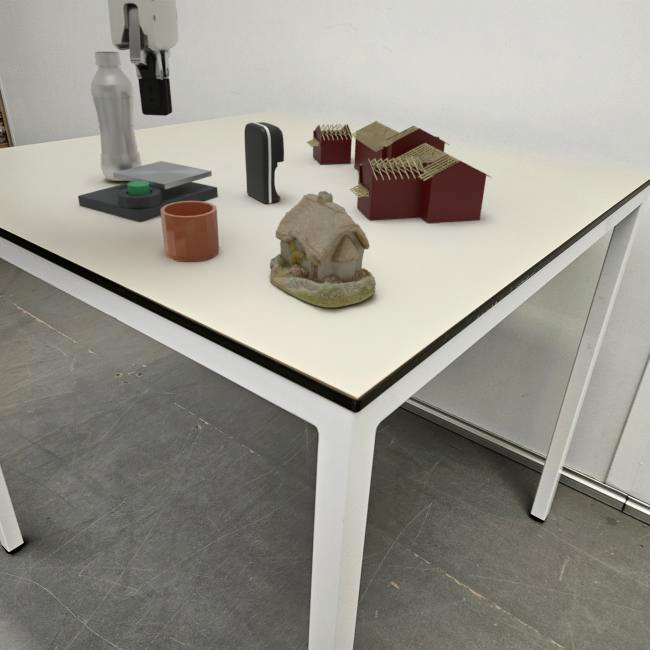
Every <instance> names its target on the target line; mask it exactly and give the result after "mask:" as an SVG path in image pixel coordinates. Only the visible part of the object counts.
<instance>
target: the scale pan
mask: <svg viewBox="0 0 650 650" xmlns="http://www.w3.org/2000/svg"><path fill="white" fill-rule="evenodd" d="M212 176H213V172H212V170H209V169H203V168H199V167H198V168H197V167H193V166H189V165H183V164H178V163H173V162H168V161H162V160H159V161H155V162H151V163H147V164H142V166H139V167H134V168H130V169H126V170H122V171H118V172H114V173H113V177H114V178H117V179H121V180H126V181H125V182H134V181H145V182H149V185H150V186H152V187H156V188H161V189H168V188H172V187H175V186H179V185H182V184H186V183H189V182H196V181H199V180H203V179H206V178H210V177H212Z"/></svg>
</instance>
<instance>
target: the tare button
mask: <svg viewBox="0 0 650 650" xmlns="http://www.w3.org/2000/svg"><path fill="white" fill-rule="evenodd" d="M129 182H130V181H129ZM129 182H127V183H128V184H127V186H128V193H129V195H137V196H139V195H147V194H150V185H149V182H145V181H134V182H130V183H129Z"/></svg>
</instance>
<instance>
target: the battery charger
mask: <svg viewBox="0 0 650 650" xmlns="http://www.w3.org/2000/svg"><path fill="white" fill-rule="evenodd" d="M244 160H245V175H246V176H245V177H246V193H247V195H249V196H250V197H252V198H254V199H255V200H257V201H259V202H261V203H263V204H272V203H276V202H279V201H280V200H281V196H280V195H279V194H278V192H277V189H276V183H275V181H276V180H275V179H276V170H277V168H278V165H279V163H282V162H283V163H284V161H285V143H284V134H283V131H282V130H281V128H280V127H278V126H277V125H274V124H272V123H269V122H265V121H259V122H255V121H253V122H252V121H251V122H248V123H246V125H245V127H244Z"/></svg>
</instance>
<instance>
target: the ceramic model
mask: <svg viewBox="0 0 650 650" xmlns="http://www.w3.org/2000/svg"><path fill="white" fill-rule="evenodd" d="M333 197H334V196H333V194H332V192H327V190H322V191H321V190H320V191H319V192H318V193H317V194H314V193H307V194H303V196H302V198H301V199H300V200H299V202H298V203H296V204H295V205H294V206H293V207H292V208H291V209H289V211H286V212H285V214H284V216H283V217H282V218H281V220H280V221H279V224H278V226H277V228H276V231H275V238H276V239H277V240H279V241H280V242H279V244H280V245H279V246H280V253H278V254H277V255H275V256H274V257H272V258H271V259H270V264H269V269H270V275H269V279H270V282H271V284H272V285H273V286H275V287H277V288H278V289H280V290H282V291H284V292H285V293H287V294H289V295H291V296H293V297H295V298H297V299H299V300H301V301H304V302H306V303H308V304H310V305H313V306H317V307H322V308H332V309H333V308H338V307H339V308H340V307H346V306H349V305H355V304H359V303H361V302H363V301H365V300H367V299H369V298H370V297H372V296H373V295H374V294H375V292H376V291H375V289H376V285H377V282H376V278H375V276H373V274H372V273H371V271H369V270H368V269H366V268H365V267H363V259H364V253H365V250H369V248H370V242H369V240H368V237H367V235H366V232H365V231H364V230H363V229H362V228H361V226H360V224H359V223H356V221H355V220H354V219H353V218H352V217H351V215H350V214H349V213H348V212H347V211H346V208H345V207H343V206H341V205H340V204H338V203H336V202H334V198H333Z"/></svg>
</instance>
